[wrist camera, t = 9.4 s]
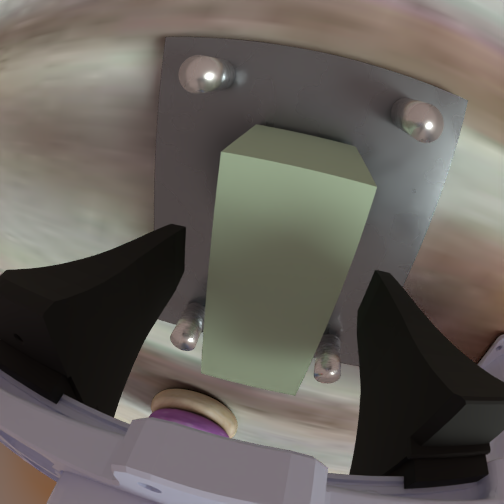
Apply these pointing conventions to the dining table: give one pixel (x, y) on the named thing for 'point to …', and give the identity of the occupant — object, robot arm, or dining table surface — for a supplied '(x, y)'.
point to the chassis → (307, 122)
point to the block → (279, 253)
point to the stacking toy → (194, 411)
